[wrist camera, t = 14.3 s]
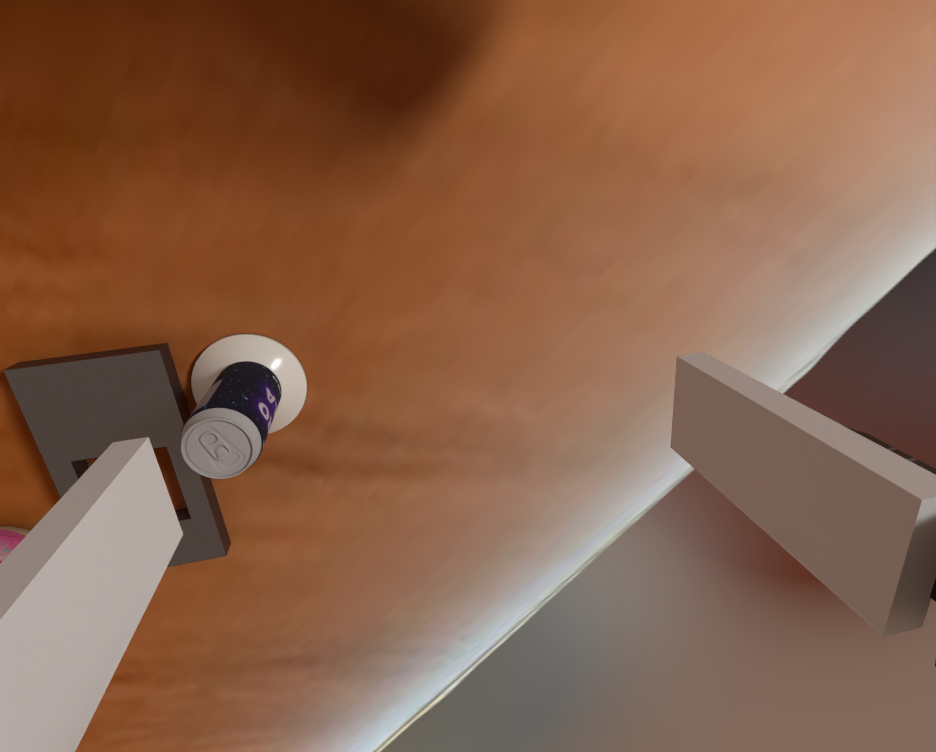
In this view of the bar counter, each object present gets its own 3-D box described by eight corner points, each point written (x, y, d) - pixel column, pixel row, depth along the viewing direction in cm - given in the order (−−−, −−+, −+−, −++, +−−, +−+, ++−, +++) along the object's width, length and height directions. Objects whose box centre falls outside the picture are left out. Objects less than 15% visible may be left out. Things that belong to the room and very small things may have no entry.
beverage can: (243, 425, 50) (209, 496, 39) (204, 377, 47) (156, 439, 36) (295, 395, 50) (275, 459, 39) (258, 346, 47) (227, 399, 36)
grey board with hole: (18, 362, 45) (3, 370, 43) (167, 343, 46) (159, 350, 45) (106, 565, 53) (97, 580, 51) (230, 543, 55) (226, 556, 53)
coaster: (179, 341, 46) (177, 343, 46) (294, 326, 48) (294, 328, 47) (209, 440, 50) (208, 443, 50) (316, 423, 52) (315, 426, 51)
